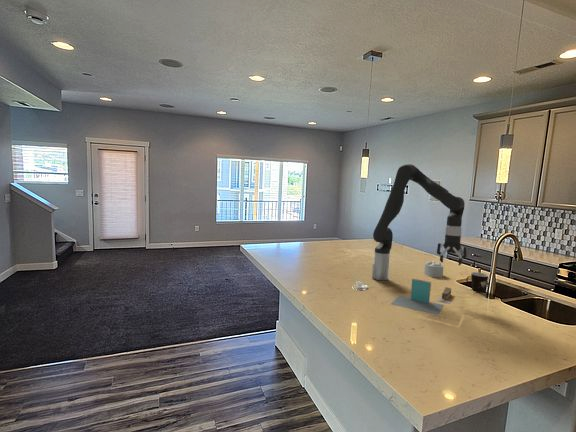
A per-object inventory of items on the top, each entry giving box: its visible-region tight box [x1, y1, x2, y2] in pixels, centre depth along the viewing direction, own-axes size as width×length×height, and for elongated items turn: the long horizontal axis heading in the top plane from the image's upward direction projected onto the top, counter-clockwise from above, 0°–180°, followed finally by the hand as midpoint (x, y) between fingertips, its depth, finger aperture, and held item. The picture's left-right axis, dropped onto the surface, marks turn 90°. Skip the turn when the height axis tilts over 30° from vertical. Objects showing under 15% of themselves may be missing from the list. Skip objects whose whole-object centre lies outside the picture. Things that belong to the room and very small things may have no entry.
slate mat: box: [390, 294, 444, 316], centre depth 160 cm, size 22×16×1 cm
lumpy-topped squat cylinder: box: [423, 260, 445, 278], centre depth 219 cm, size 10×13×9 cm
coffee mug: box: [465, 271, 489, 294], centre depth 187 cm, size 12×9×10 cm
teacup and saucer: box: [351, 280, 369, 291], centre depth 185 cm, size 9×8×4 cm
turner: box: [436, 287, 452, 305], centre depth 171 cm, size 6×18×4 cm, turn 146°
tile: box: [410, 278, 432, 303], centre depth 165 cm, size 9×2×11 cm, turn 55°
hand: (450, 263), depth 172 cm, fingers open, 8 cm apart
